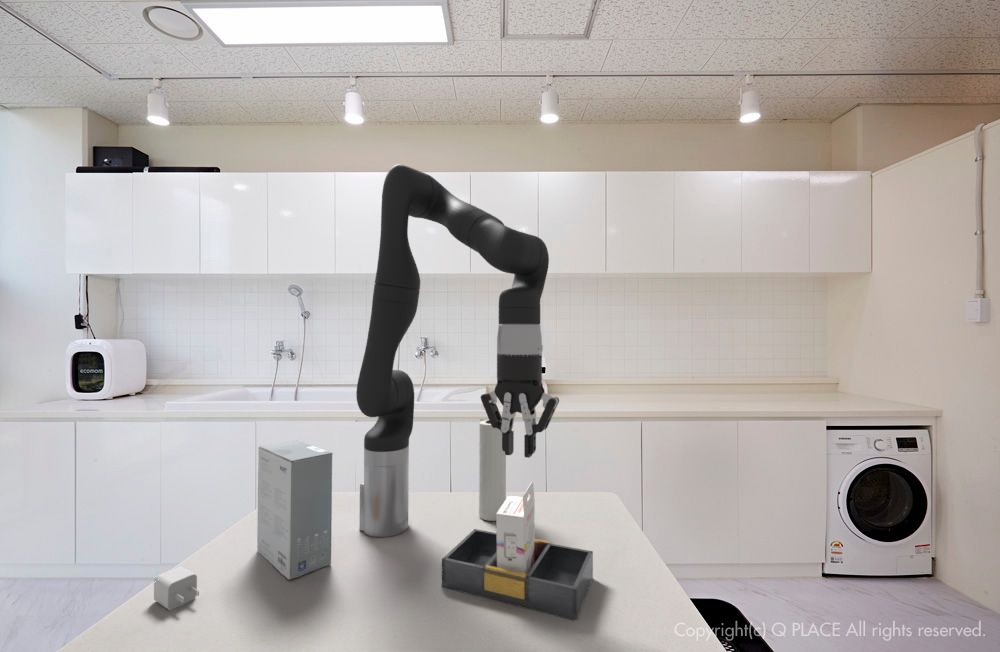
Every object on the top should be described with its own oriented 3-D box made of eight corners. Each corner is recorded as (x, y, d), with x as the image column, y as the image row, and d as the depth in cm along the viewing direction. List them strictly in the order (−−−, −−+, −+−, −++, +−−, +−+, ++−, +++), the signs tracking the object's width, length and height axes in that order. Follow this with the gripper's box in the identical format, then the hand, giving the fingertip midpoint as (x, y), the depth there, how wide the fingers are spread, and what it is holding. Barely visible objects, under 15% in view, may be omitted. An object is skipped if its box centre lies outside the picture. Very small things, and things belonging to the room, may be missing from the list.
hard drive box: (333, 565, 80) (334, 452, 80) (288, 582, 75) (290, 461, 75) (296, 537, 91) (297, 438, 91) (255, 551, 85) (256, 445, 85)
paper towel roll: (505, 522, 99) (506, 424, 99) (478, 521, 99) (478, 424, 99) (505, 509, 106) (506, 417, 106) (479, 509, 106) (480, 417, 106)
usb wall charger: (183, 590, 72) (183, 565, 72) (205, 603, 69) (205, 577, 69) (153, 602, 69) (154, 576, 69) (175, 617, 65) (176, 590, 65)
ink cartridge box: (507, 561, 80) (507, 477, 80) (535, 564, 79) (535, 480, 79) (494, 587, 71) (495, 494, 72) (525, 592, 70) (525, 497, 70)
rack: (440, 588, 73) (440, 558, 73) (474, 553, 85) (474, 527, 85) (575, 622, 64) (575, 588, 65) (592, 578, 76) (592, 549, 76)
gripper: (471, 351, 75) (471, 456, 74) (553, 353, 69) (553, 466, 69) (490, 350, 81) (489, 446, 81) (565, 351, 76) (565, 454, 76)
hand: (519, 454), depth 75 cm, fingers open, 3 cm apart
